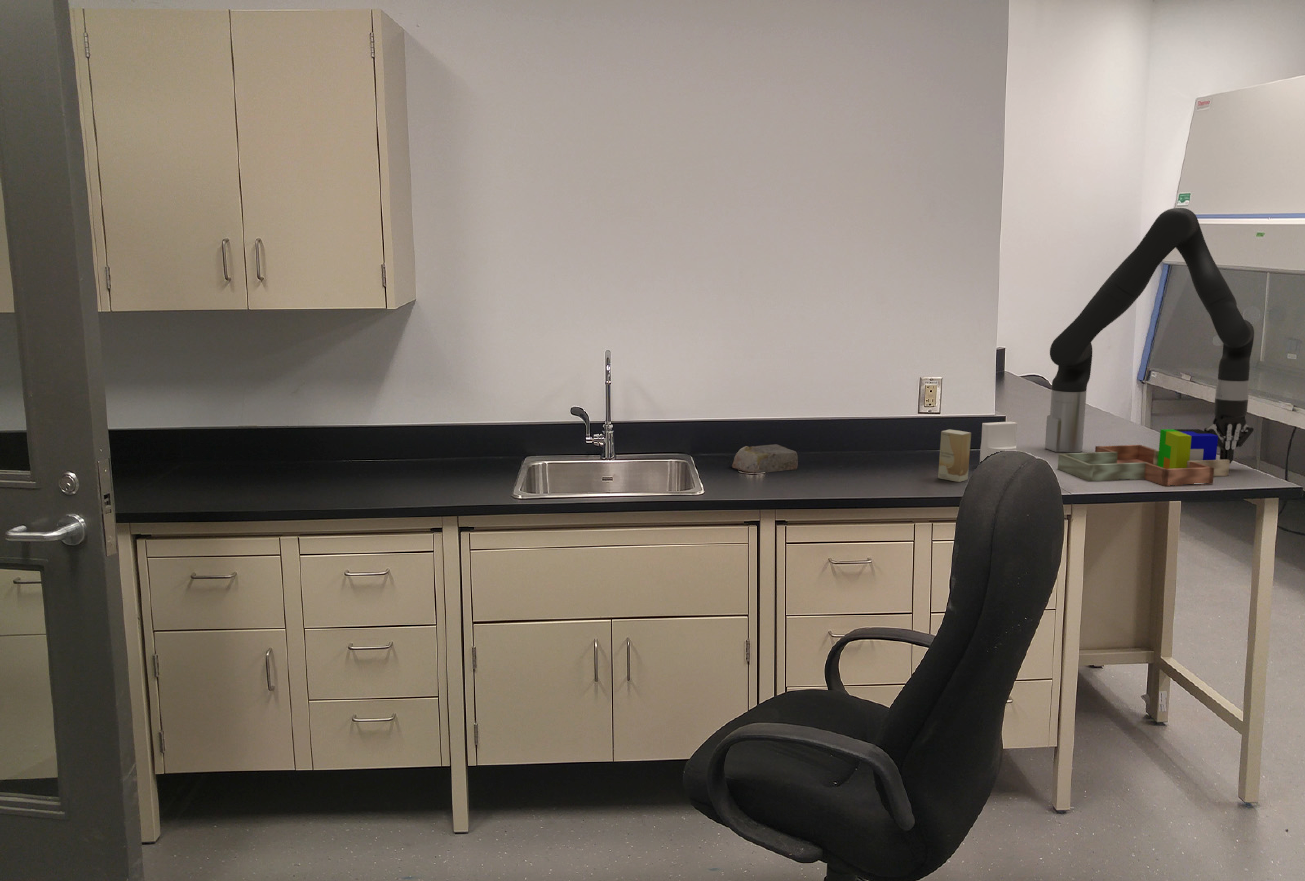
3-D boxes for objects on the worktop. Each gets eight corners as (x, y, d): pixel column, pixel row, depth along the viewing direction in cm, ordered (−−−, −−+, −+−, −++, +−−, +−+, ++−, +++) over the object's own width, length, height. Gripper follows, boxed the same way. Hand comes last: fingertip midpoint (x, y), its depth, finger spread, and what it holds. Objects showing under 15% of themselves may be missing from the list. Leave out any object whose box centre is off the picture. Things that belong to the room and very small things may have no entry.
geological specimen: (801, 450, 282) (753, 453, 275) (799, 473, 283) (751, 476, 276) (778, 443, 291) (731, 445, 284) (776, 465, 293) (729, 467, 286)
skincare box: (937, 478, 270) (939, 430, 268) (946, 476, 273) (948, 428, 271) (960, 482, 265) (962, 434, 263) (969, 479, 268) (971, 431, 266)
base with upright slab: (992, 472, 277) (994, 426, 275) (972, 465, 285) (975, 421, 283) (1022, 470, 279) (1025, 425, 277) (1002, 463, 288) (1005, 419, 285)
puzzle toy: (1214, 474, 273) (1218, 435, 271) (1175, 474, 273) (1178, 436, 271) (1195, 466, 283) (1198, 429, 281) (1157, 466, 283) (1160, 429, 281)
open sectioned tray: (1106, 488, 258) (1107, 472, 258) (1042, 462, 289) (1043, 448, 288) (1250, 482, 264) (1251, 466, 263) (1172, 457, 294) (1173, 443, 293)
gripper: (1217, 400, 271) (1212, 467, 275) (1265, 398, 273) (1259, 464, 276) (1198, 396, 279) (1193, 461, 282) (1245, 394, 281) (1239, 459, 284)
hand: (1226, 463), depth 279 cm, fingers closed
